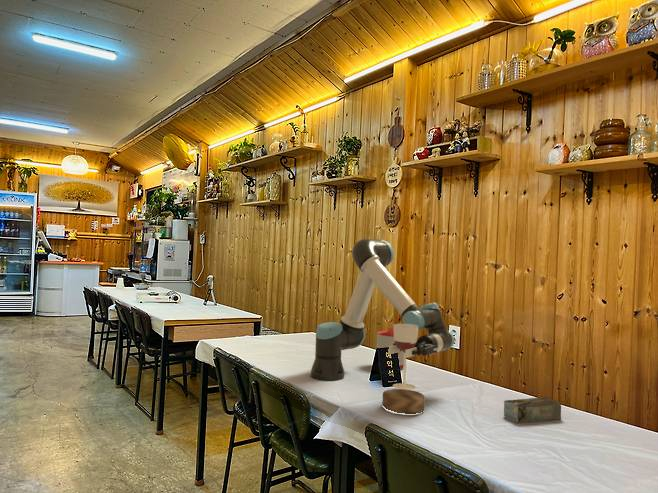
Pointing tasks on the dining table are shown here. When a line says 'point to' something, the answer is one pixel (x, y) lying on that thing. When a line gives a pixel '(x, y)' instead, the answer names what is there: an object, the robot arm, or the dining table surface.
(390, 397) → the walnut stand
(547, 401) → the weathered grey-green block
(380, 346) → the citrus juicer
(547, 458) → the dining table surface
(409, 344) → the wineglass
